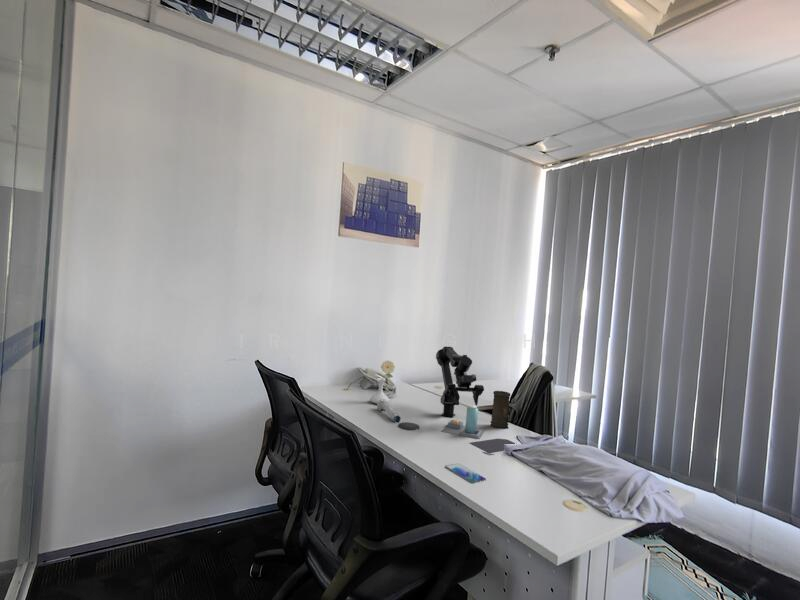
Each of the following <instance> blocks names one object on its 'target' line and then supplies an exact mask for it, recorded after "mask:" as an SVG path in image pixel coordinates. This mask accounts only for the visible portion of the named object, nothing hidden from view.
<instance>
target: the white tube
mask: <svg viewBox="0 0 800 600" xmlns="http://www.w3.org/2000/svg"><path fill="white" fill-rule="evenodd" d="M376 410H377V411H378V410H379V412H381V411H384V412H385V413H386V414H387V415H388V417H389V419H390V420H391V421H392V420H393V421H392V422H393V423H395V422H399V423H401V420H402V418H401V416H400V414H399V413H398V412H396V411H395V410H394V409H393V408H392V407H391V406H390V405H389V404H388V403H386V400H385V399H380V400H379V403H378V404H377V403H376Z"/></svg>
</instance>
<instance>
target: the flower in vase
mask: <svg viewBox="0 0 800 600" xmlns="http://www.w3.org/2000/svg"><path fill="white" fill-rule="evenodd" d="M380 369H381V371H382V372H383V373H384V375H382V374H380V373H378V376H380V378H379V377H378V378H376V380H377V383H378V389H377V390H378V391H377V392H376V393H375V394H373V395H371V396H370V398H369V401H370V402H372V403H374V404H376V405H377V404H378V403H379V400H380V399H385V400H386V403H387V404H388V403H390V398H389V396H387V395H386V394H385V393H384V392H383V388H384V383H385V381H386V378H389V379H390V378H393V375H392V374H391V373H394V370H395V369H396V366H395V364H394V362H393V361H391V360H389V359H388V360H385V361H383V362H382V363H381V365H380ZM385 377H386V378H385Z"/></svg>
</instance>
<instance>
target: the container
mask: <svg viewBox="0 0 800 600" xmlns="http://www.w3.org/2000/svg"><path fill="white" fill-rule="evenodd" d="M492 394H493V403H492V415H491V420H490V425H489V426H490V427H492V428H495V429H498V430H506V429H507V430H508V429H509V411H510V410H509V409H510V397H511V393H510V392H507V391H503V390H494V391H493V393H492Z"/></svg>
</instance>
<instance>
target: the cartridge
mask: <svg viewBox="0 0 800 600" xmlns="http://www.w3.org/2000/svg"><path fill="white" fill-rule="evenodd" d="M478 416H479V407H478V405H477V406H476V405H474V404H473V405H471V404H469V405H468V406H467V407H466V416H465V426H466V427H465V433H469V434H474V435H476V432H477V428H478V421H479V420H478V419H479V417H478Z"/></svg>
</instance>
